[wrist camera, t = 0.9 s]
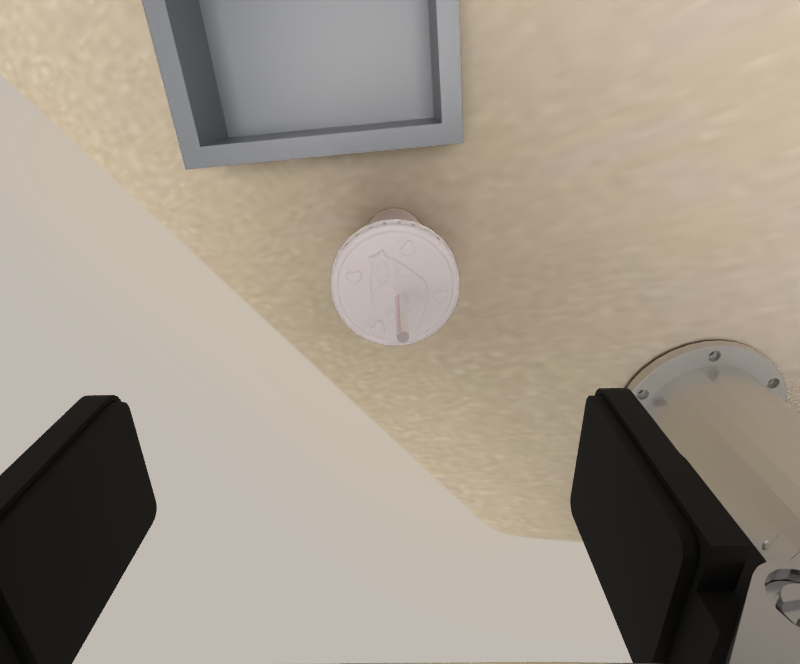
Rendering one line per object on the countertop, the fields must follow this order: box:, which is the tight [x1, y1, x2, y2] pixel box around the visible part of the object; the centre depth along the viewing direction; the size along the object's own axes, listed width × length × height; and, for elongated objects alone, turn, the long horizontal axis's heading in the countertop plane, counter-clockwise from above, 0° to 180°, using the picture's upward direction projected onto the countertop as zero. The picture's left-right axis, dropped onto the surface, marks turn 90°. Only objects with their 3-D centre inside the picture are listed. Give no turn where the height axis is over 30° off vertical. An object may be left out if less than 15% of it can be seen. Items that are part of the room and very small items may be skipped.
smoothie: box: [331, 208, 459, 346], centre depth 27 cm, size 6×6×14 cm
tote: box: [142, 0, 463, 170], centre depth 25 cm, size 14×14×6 cm
